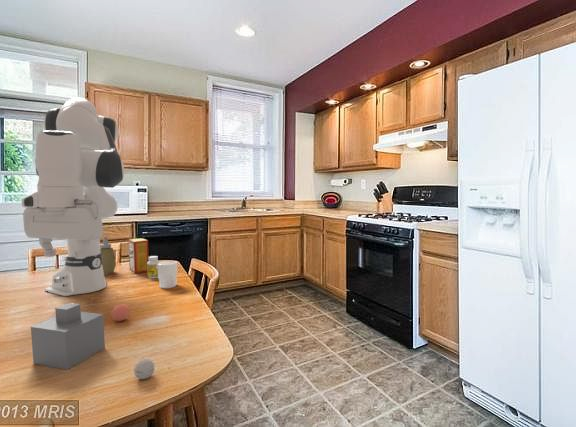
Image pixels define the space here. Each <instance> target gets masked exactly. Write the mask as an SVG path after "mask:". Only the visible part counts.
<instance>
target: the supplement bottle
mask: <svg viewBox="0 0 576 427" xmlns="http://www.w3.org/2000/svg"><path fill="white" fill-rule="evenodd" d="M158 259H159V256H158V255H149V257H148V260H149V261H148V262H147V272H146V273H147V278H148V279H159V277H158V267H157V263H159V262H160V261H159V260H158Z"/></svg>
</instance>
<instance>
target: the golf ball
mask: <svg viewBox="0 0 576 427" xmlns="http://www.w3.org/2000/svg"><path fill="white" fill-rule="evenodd" d="M154 371H155V364H154V361H153V360H151V359H149V358H142V359H140V360H139V361H137V363H136V364H135V366H134V369H133V372H134V376H135V377H136V378H137V379H140V380H147V379H148V378H150V377H151V376H152V375H153V374H154Z"/></svg>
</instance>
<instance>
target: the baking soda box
mask: <svg viewBox="0 0 576 427" xmlns="http://www.w3.org/2000/svg"><path fill="white" fill-rule="evenodd" d="M148 257H150V255H149V240H148V239H145V238H133V239H132V238H131V239H128V258H129V259H128V261H129V271H130V270H131V271H130V272H132V273H133V272H134V273H133V274H135V275H136V273H137V274H142V272H143V273H148V272H147V262H148V261H149V260H148Z"/></svg>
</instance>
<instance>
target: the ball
mask: <svg viewBox="0 0 576 427" xmlns="http://www.w3.org/2000/svg"><path fill="white" fill-rule="evenodd" d="M130 312H131V311H130V308H129V306H127V304H117V305H115V306H114V307H113V308H112V310H111V314H110V316H111V318H112V319H113V320H114V321H116V322H122V321H124V320H127V318H128V317H129V316H130Z"/></svg>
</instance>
